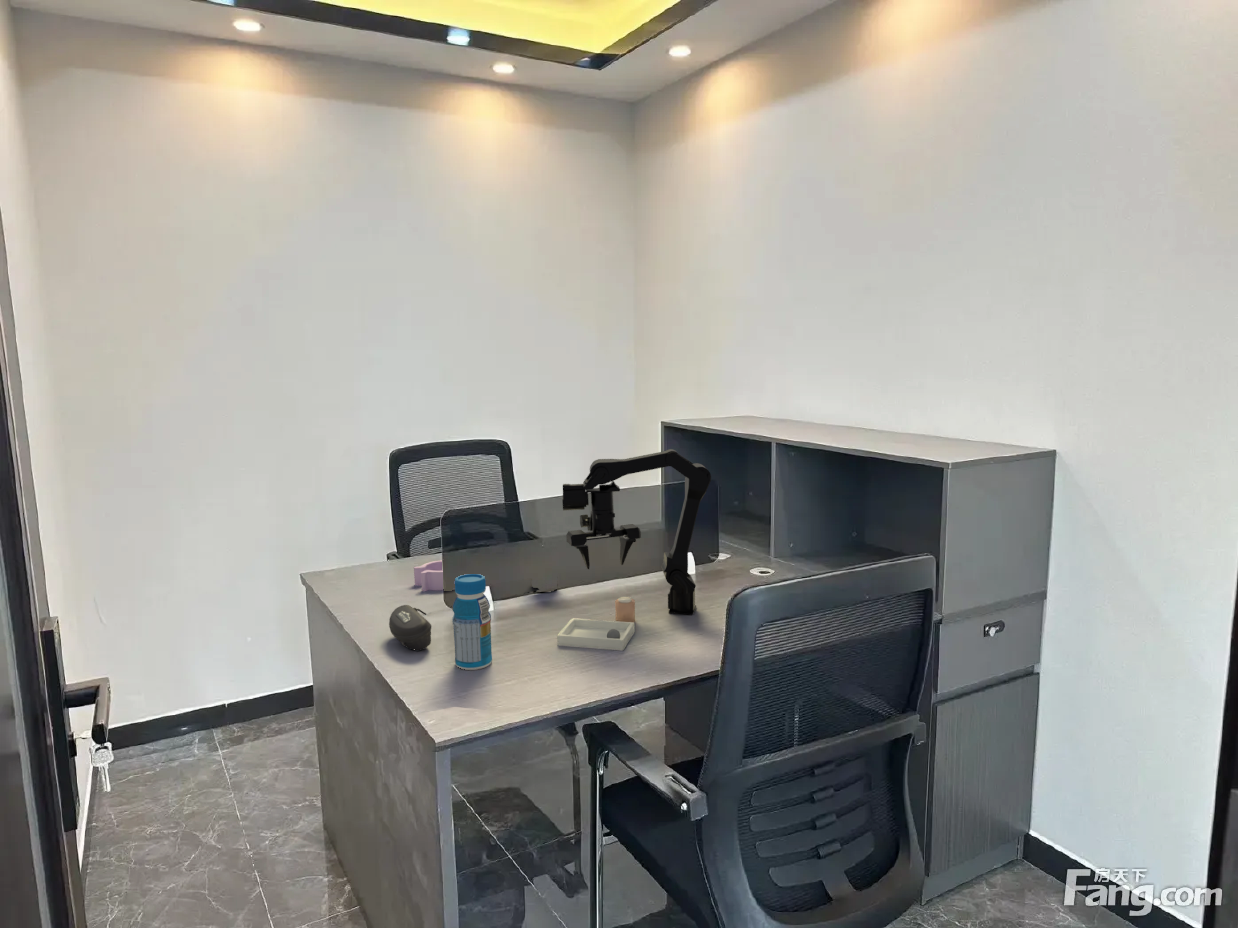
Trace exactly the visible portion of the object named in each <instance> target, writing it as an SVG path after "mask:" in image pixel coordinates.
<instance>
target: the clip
mask: <svg viewBox="0 0 1238 928" xmlns="http://www.w3.org/2000/svg"><path fill="white" fill-rule="evenodd" d="M442 560H443V559H441V560H433V561H429V562H426V563H423V564H422V565H420V566H419V565H418V566H414V567H413V579H414V581H413V582H414V586H416V587H417V586H418V587H419V586H420V587H421V591H422V592H427V591H444V590H443V570H442Z"/></svg>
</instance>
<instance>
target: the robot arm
mask: <svg viewBox="0 0 1238 928" xmlns="http://www.w3.org/2000/svg"><path fill="white" fill-rule="evenodd" d="M667 467H671V468H673V469H674V470H676V471H677V472H678V473H680V474H681V475H683V476H684V477H685V478H684V498H683V499H684V500H683V504H682V509H681V512H680V516H679V521H678V525H677V530H676V534H675V537H674V541H673V546H672V548H671V549H670V551H669V552H667V551H664V552H663V560H662V563H661V564H660V567H661V569H662V572H663V576H664V578H665V580H666V582H667V583H668V584H669V585H670V588H669V592H668V593H667V609H668V614H673V615H674V614H676V615H691V616H692V615H694V613H695V611H696V610H697V605H696V586H697V585H696V583H695V581H694V579H693V577H692V576H691V574H690V573H689V572H688V571H689V549H690V547H691V541H692V536H693V532H694V528H695V524H696V521H697V517H698V512H699V507H700V504H701V501H702V499H703V497H704V496H705V494H706V493H707V490H708V489H709V486H710V484H711V481H712V474H711V472H710V470H709V469H708V468H707V467H705V466H704V465H703V464H702V463H698V462H697V463H696V462H695V463H693V462H692V461H690V460H689V459H687V458H686V457H684V456H682V455H681V454H680V453H678V452H677V450H675V449H672V448H670V449H667V450H665V451H659V452H653V453H649V454H644V455H639V456H634V457H629V458H620V459H619V458H598V459H595V460H594V461H593V462H592V463H591V464H590V466H589V473H588V475H587V477H586V478H585V479H584V480H583V483H574V484H573V483H572V484H571V483H563V484H562V499H561V500H562V511H577V510H579V511H580V510H585V508H587V506H589V503H590V506H591V507H590V508H591V510H590V516H589V514H582V515H579V524H580V528H587V531H590V532H584V531H583V530H582V529H578V530H568V531H567V532H566V537H565V538H566V542H567V543H568V544H569V546H571V547H574V548H575V549H577V550H579V552H580V554H581V557H582V560H583V563H584V564H585V567H586V570H590V554H589V553H590V552H589V545H588V544H587V542H588V541H591V540H592V541H593V540H600V539H602V540H603V539H609V538H619V543H620V545H619V546H620V549H619V564H620V565H621V566H623V565H624V564H625V561H626V558H627V556H628V554H629V551H630V550H631V547H632V546H633V543H636V542H637V539H638V540H639V539H641V538H642V532H641V529H640V528H639V527H638V526H637V525H635V524H633V523H629V524H621V525H620V526H619V528H618V529H616V528H615V518H616V513H615V511H614V492H615V493H616V492H620V491H621V488H620V486H619V485H617V484H616V483H615V481H616V480H619V479H620V478H622V477H624V476H627V475H632V474H637V473H641V472H647V471H652V470H657V469H662V468H667ZM589 494H590V502H589Z"/></svg>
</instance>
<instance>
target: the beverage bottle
mask: <svg viewBox="0 0 1238 928" xmlns="http://www.w3.org/2000/svg"><path fill="white" fill-rule="evenodd" d="M486 582H487V580H486V579H485V576H483V575H481V574H464V575H460V576H458V577H456V578H455V581H454V584H455V588H454V592H455V594H456V598H454V601H453V603H452V607H451V608H452V609H451V611H452V612H453V616H452V621H451V622H452V625H453V638H454V642H453V643H454V663H455V666H456V667H457V668H458V667H459V668H458V669H460V668H461V670H464V669H465V670H464V671H477V670H481V669H484V668H487V667H488V666H490V665H491V664H492V662H493V654H492V630H491V629H492V627H491V623H492V615H491V612H490V611H489V610H490V608H491V605H490V601H489V600H488V599H489V598H487V596H486V594H485V592H486V589H487V585H486Z"/></svg>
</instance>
